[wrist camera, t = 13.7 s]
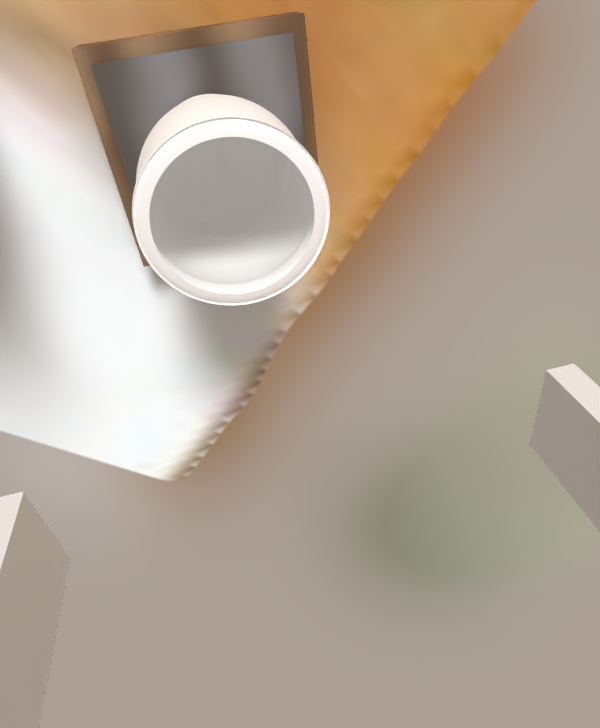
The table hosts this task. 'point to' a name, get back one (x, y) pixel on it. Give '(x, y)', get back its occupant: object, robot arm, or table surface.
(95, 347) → the table surface
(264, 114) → the jar
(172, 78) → the plinth
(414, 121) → the table surface
